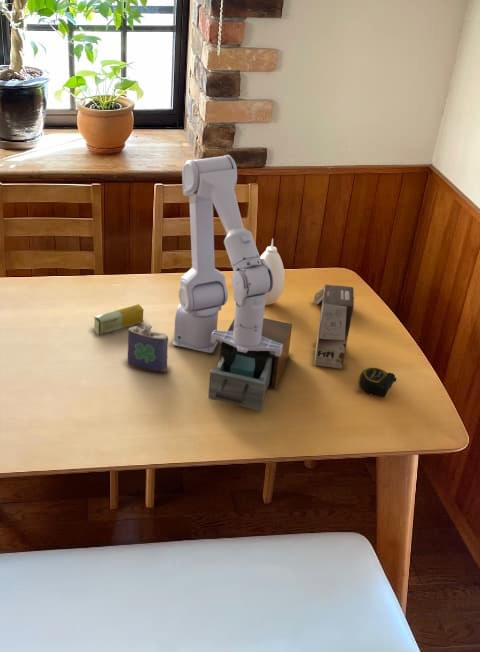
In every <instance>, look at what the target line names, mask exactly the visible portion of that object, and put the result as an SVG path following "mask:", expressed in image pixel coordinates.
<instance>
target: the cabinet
mask: <svg viewBox="0 0 480 652" xmlns="http://www.w3.org/2000/svg"><path fill="white" fill-rule="evenodd" d="M234 319H235V317H234V318H233V320H232V322H231V323H230V326H229V327H228V329H227V331H233V330H234ZM292 329H293V323H291V322H286V321H280V320H277V319H270V318H265V317H263V326H262V335H261V336H263V337H265V338H267V339H270V340H272V341H274V342H277V343H280V344H283V348H282V353H281V355H280V357H278V356H275V354H273V353H270V356H269V357H271V358H275V359H274V367H273V375H272V378H271V380H270V383H269V385H268V387H267V389H271V390H275V389H276V387H277V384H278V383H279V380H280V377H281V375H282V373H283V370H284V367H285V365H286V363H287V361H288V357H289V353H290V346H291V339H292V337H291V336H292ZM221 345H222V343H220V346H219V349H220V348H221ZM236 350H237V348H236ZM247 352H248V353H252V354H257V353H258V351H247ZM221 358H222V355H221V353H220V352H219V358H218V359H219V360H218V363H219V362H220V360H221Z"/></svg>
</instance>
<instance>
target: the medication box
mask: <svg viewBox="0 0 480 652" xmlns="http://www.w3.org/2000/svg"><path fill="white" fill-rule="evenodd" d="M144 310H145V309H144V308H143V307H142V306H141V304H139V303H138V304H134V305H130V306H127V307H124V308H120V309H117V310H113V311H109V312H106V313H102V314H98V315H94V317H93V321H94V323H93V324H94V325H93V330H94V332H95V333H96V334H97V335H98V336H100V335H102V334H105V333H109V332H112V331H116V330H120V329H123V328H126V327H131V326H133V325H138V324H141V323H143V322H144Z"/></svg>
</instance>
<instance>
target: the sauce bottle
mask: <svg viewBox="0 0 480 652" xmlns="http://www.w3.org/2000/svg"><path fill="white" fill-rule="evenodd" d="M270 243H271V244H270V245H269V246H267V247H266V248H265V250H264V252H263V253H262V254H261V255H260V259H263V260H264V261H265V263H266V264H267V265H268V266H269V267H270V269H271V272H272V275H273V288H272V290H271V291H270V292H267V293H266V298H265V306H269V305H273V303H277V301H278V300H279V298H280V297H281V296H282V293H283V290H284V286H285V279H286V278H285V277H286V276H285V267H284V264H283V261H282V258H281V255H280V254H279V252H278V248H277V247H276V246H274V237H272V239H271V242H270Z"/></svg>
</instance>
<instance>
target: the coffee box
mask: <svg viewBox="0 0 480 652" xmlns="http://www.w3.org/2000/svg"><path fill="white" fill-rule="evenodd" d="M324 286H325V288H324V295H323V301H322V306H321V308H320V315H319V321H318V328H317V336H316V342H315V353H314V366H319V367H324V368H325V367H326V368H333V369H339V370H341V369H342V368H343V364H344V360H345V354H346V349H347V345H348V339H349V338H348V337H349V334H350V327H351V322H352V318H353V312H354V307H355V305H354V304H355V297H354V286H348V285H337V284H336V285H334V284H324Z"/></svg>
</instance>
